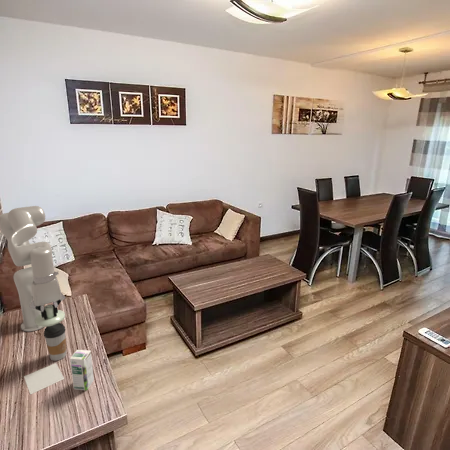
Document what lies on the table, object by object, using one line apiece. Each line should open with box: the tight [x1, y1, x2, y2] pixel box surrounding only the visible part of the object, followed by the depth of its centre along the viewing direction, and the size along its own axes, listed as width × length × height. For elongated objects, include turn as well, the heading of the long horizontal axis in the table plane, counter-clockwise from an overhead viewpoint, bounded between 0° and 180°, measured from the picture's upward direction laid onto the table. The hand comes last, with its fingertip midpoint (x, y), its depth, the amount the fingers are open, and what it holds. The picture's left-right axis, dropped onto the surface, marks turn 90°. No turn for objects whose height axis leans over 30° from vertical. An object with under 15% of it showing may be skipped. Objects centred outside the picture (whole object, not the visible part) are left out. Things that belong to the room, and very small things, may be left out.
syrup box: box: [69, 349, 95, 391], centre depth 119 cm, size 6×6×14 cm
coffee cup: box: [43, 322, 67, 362], centre depth 134 cm, size 8×8×15 cm
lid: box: [35, 304, 66, 328], centre depth 128 cm, size 11×11×6 cm
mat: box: [23, 362, 65, 396], centre depth 123 cm, size 12×12×1 cm
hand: (50, 316), depth 128 cm, fingers closed on lid, 3 cm apart
